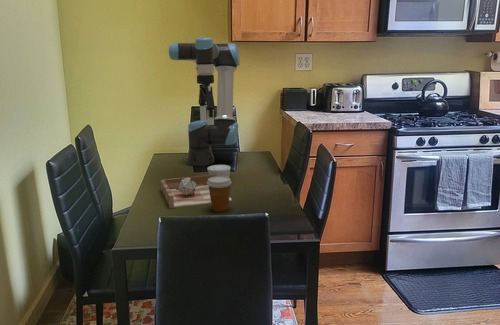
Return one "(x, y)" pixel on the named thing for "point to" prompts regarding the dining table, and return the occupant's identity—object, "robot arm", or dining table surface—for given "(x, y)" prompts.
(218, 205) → the disposable coffee cup
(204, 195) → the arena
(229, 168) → the ramekin
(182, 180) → the game die
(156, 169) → the dining table surface
